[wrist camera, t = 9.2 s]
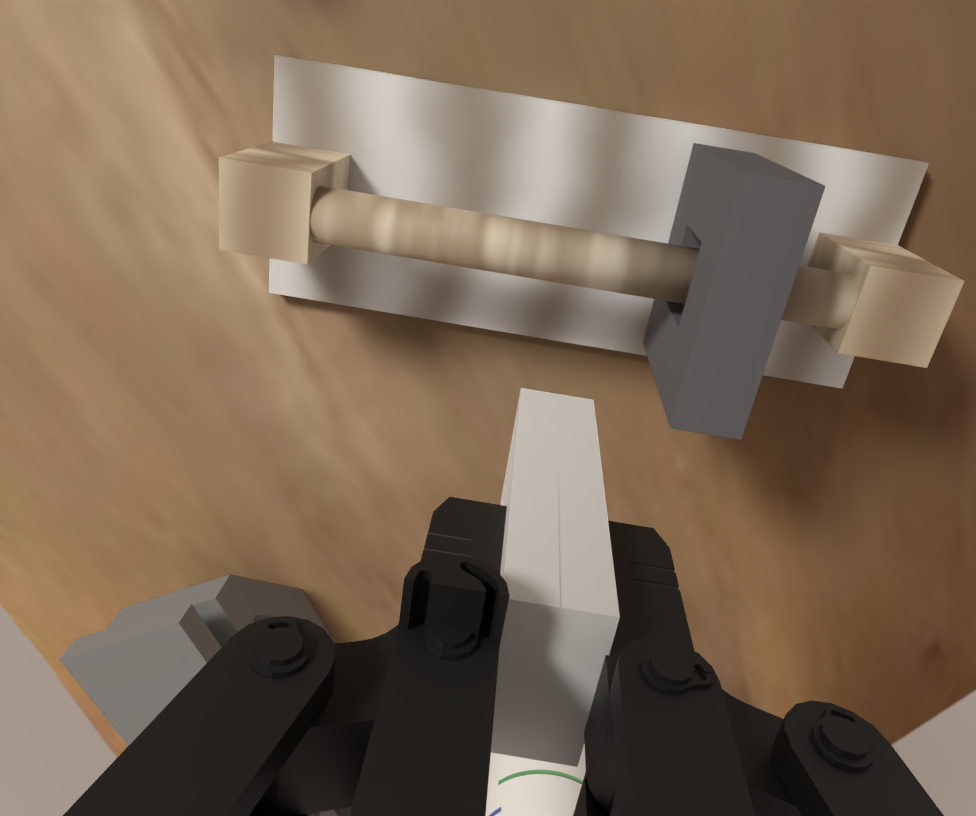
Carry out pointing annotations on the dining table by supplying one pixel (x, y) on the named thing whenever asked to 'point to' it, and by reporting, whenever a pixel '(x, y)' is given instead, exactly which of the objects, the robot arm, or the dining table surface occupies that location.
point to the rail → (555, 219)
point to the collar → (728, 286)
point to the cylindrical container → (532, 786)
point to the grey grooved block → (173, 646)
